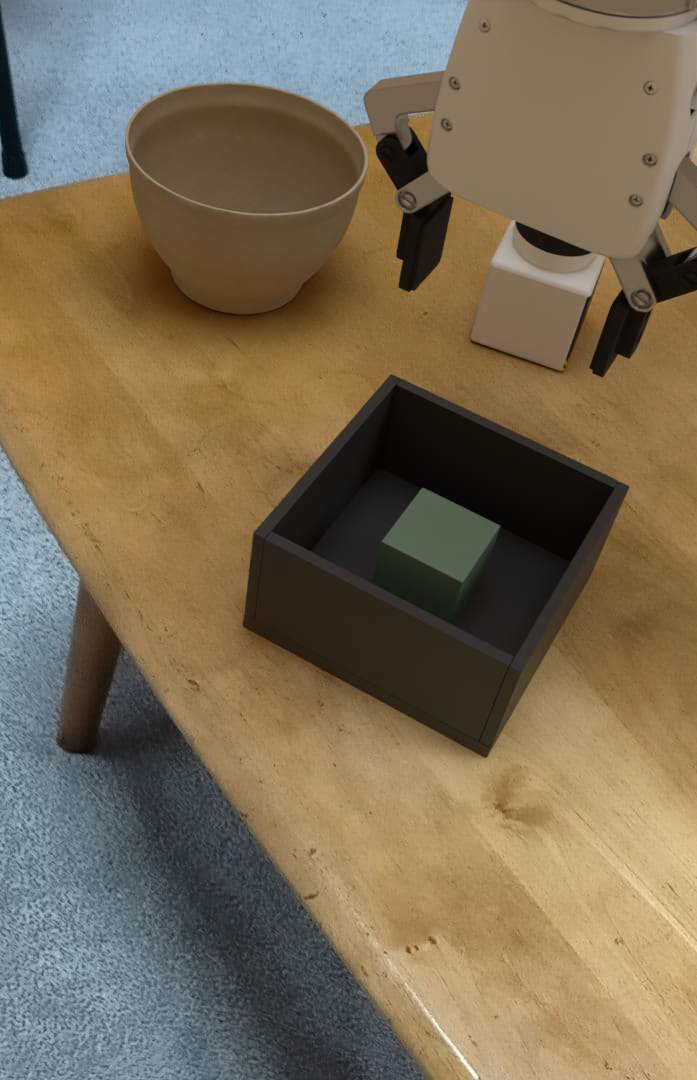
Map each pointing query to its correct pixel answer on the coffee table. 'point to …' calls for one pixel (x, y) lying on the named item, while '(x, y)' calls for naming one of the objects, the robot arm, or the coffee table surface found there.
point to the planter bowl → (243, 189)
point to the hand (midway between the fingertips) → (511, 316)
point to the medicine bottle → (536, 296)
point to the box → (435, 555)
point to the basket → (396, 625)
